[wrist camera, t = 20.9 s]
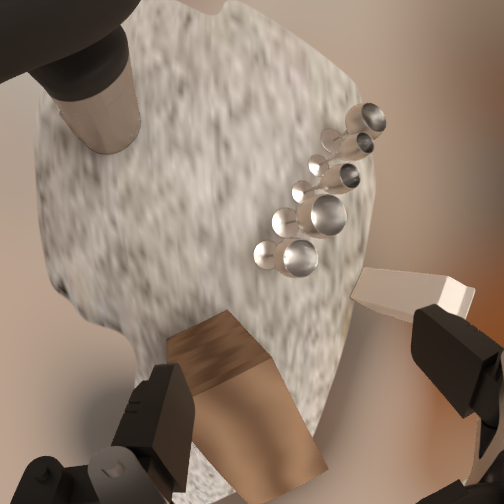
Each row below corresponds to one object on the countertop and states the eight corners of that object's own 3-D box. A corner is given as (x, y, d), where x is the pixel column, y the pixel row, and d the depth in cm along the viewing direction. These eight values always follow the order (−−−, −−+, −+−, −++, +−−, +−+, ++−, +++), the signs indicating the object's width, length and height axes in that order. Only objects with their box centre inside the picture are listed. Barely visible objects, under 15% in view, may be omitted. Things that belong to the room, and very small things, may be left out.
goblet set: (274, 278, 44) (316, 290, 32) (243, 258, 43) (274, 264, 30) (350, 140, 48) (398, 115, 35) (325, 120, 46) (370, 88, 34)
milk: (384, 281, 50) (483, 296, 29) (371, 311, 50) (468, 339, 28) (363, 266, 49) (467, 277, 28) (348, 297, 48) (450, 324, 27)
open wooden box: (221, 426, 42) (252, 507, 24) (166, 339, 40) (167, 407, 21) (273, 399, 45) (328, 469, 26) (227, 309, 42) (271, 357, 24)
